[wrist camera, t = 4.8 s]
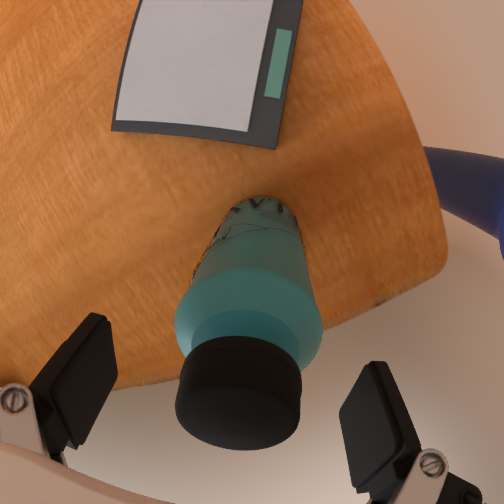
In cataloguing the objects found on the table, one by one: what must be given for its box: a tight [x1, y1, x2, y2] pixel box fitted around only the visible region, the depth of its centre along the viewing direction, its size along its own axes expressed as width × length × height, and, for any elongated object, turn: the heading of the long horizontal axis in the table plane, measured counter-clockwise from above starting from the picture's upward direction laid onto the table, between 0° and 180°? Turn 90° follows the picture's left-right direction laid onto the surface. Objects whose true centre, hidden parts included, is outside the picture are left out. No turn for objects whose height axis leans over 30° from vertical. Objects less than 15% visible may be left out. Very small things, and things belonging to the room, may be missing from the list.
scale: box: [111, 0, 303, 150], centre depth 19 cm, size 14×14×3 cm
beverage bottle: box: [175, 195, 323, 450], centre depth 17 cm, size 6×7×20 cm
